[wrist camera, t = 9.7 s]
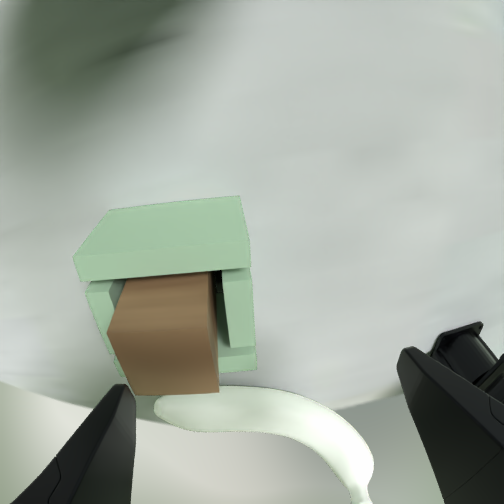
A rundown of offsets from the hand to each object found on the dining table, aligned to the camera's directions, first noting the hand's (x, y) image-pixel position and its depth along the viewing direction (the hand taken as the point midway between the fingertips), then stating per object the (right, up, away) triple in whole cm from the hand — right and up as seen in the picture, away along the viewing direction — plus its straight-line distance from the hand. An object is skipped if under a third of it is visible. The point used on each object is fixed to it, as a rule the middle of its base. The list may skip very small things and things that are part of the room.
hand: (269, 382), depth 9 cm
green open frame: (-5, +3, +11) cm, 13 cm away
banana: (0, -8, +18) cm, 20 cm away
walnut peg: (-5, +3, +11) cm, 12 cm away
